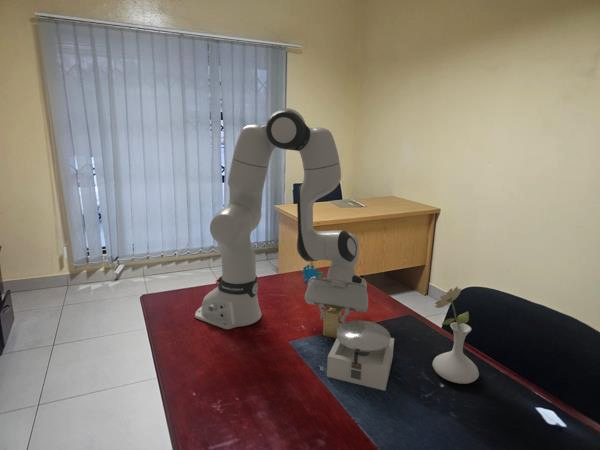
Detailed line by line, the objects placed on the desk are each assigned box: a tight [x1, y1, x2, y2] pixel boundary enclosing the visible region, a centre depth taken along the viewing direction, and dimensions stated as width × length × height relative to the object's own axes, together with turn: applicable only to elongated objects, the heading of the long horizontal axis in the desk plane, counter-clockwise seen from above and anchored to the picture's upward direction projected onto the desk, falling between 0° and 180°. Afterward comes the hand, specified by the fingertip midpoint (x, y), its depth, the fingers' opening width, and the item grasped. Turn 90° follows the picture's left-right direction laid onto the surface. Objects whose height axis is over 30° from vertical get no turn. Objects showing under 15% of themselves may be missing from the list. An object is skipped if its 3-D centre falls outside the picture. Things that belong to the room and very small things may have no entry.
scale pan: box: [336, 319, 391, 367], centre depth 99 cm, size 14×16×6 cm
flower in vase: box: [432, 286, 480, 385], centre depth 96 cm, size 13×11×25 cm
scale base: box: [326, 337, 395, 392], centre depth 101 cm, size 15×15×6 cm
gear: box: [301, 264, 324, 285], centre depth 155 cm, size 11×6×10 cm
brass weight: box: [322, 306, 343, 339], centre depth 117 cm, size 4×4×9 cm
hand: (332, 320), depth 116 cm, fingers closed on brass weight, 5 cm apart
